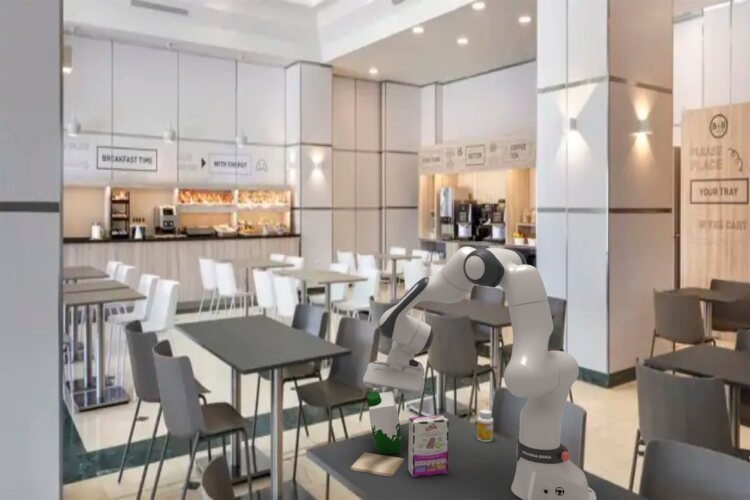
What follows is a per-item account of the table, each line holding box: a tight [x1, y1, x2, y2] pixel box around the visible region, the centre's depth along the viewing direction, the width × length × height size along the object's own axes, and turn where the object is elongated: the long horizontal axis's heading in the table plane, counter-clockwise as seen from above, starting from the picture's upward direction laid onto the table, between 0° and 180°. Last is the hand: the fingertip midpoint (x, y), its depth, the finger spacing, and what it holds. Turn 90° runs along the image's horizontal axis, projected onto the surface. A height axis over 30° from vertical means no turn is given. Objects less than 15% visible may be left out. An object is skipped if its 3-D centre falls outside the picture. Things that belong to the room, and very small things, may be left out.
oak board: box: [350, 452, 405, 478], centre depth 183 cm, size 13×12×1 cm
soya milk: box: [366, 391, 402, 455], centre depth 190 cm, size 9×9×20 cm
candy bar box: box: [407, 414, 450, 478], centre depth 178 cm, size 11×5×16 cm, turn 105°
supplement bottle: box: [476, 409, 494, 443], centre depth 206 cm, size 5×5×10 cm
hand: (387, 401), depth 193 cm, fingers closed, pressing on soya milk
